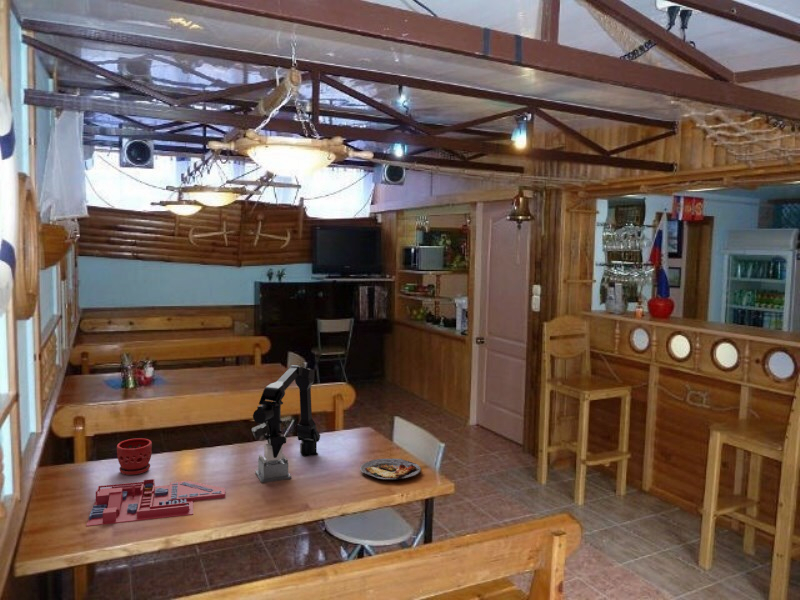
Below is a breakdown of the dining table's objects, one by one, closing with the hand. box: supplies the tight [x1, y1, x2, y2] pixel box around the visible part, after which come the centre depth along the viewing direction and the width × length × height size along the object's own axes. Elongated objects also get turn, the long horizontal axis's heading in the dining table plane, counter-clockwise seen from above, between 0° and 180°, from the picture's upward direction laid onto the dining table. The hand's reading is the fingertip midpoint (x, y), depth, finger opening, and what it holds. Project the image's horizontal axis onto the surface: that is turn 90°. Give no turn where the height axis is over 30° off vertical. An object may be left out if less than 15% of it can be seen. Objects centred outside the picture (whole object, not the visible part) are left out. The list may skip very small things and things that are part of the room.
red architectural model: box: [85, 478, 226, 527], centre depth 222 cm, size 30×45×6 cm
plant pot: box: [116, 437, 153, 476], centre depth 250 cm, size 13×13×12 cm
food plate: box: [359, 458, 422, 481], centre depth 255 cm, size 25×23×4 cm
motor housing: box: [254, 452, 292, 484], centre depth 250 cm, size 12×14×8 cm
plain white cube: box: [263, 443, 283, 461], centre depth 248 cm, size 6×6×5 cm
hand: (273, 455), depth 248 cm, fingers closed on plain white cube, 6 cm apart
